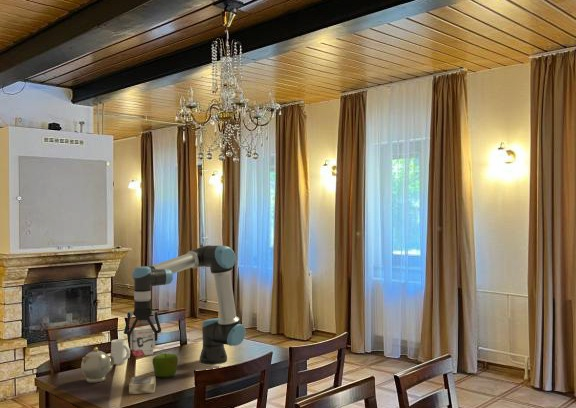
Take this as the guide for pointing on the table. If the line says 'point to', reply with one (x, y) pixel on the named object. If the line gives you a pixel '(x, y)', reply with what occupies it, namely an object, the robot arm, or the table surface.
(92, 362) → the teapot
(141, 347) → the ink box
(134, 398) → the table surface
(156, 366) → the apple
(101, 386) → the table surface
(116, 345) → the mug
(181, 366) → the table surface
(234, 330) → the robot arm
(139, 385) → the plinth
